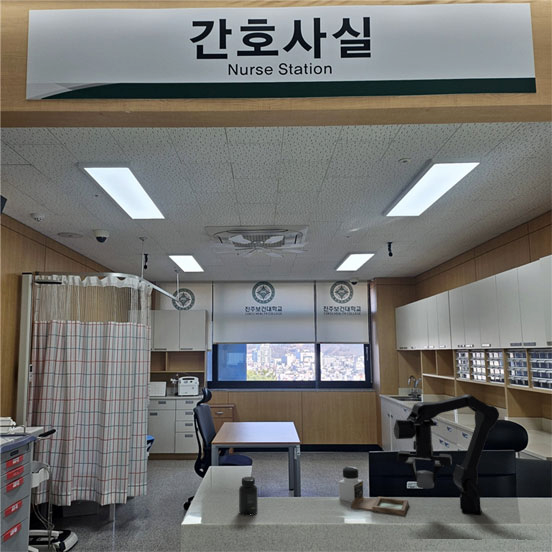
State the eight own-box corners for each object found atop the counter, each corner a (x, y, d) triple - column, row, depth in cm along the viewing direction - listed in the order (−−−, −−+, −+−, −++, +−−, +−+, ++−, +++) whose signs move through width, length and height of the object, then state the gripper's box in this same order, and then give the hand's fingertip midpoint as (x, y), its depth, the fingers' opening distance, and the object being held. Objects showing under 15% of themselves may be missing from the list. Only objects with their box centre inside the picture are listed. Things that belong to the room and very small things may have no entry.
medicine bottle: (355, 503, 187) (354, 471, 189) (338, 500, 192) (338, 468, 193) (363, 498, 193) (362, 467, 194) (347, 495, 197) (346, 464, 198)
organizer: (408, 504, 185) (408, 500, 185) (404, 515, 174) (404, 510, 174) (358, 498, 192) (357, 494, 192) (351, 508, 181) (351, 503, 182)
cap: (434, 484, 178) (434, 470, 179) (433, 489, 173) (432, 475, 173) (417, 482, 181) (417, 469, 181) (415, 487, 175) (415, 473, 176)
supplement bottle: (260, 509, 181) (259, 476, 182) (254, 516, 174) (254, 482, 176) (242, 508, 183) (242, 475, 184) (236, 515, 176) (236, 480, 177)
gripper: (451, 435, 182) (453, 478, 181) (400, 432, 189) (402, 473, 188) (449, 442, 172) (451, 487, 170) (396, 438, 179) (397, 481, 177)
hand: (425, 482), depth 177 cm, fingers closed on cap, 6 cm apart
